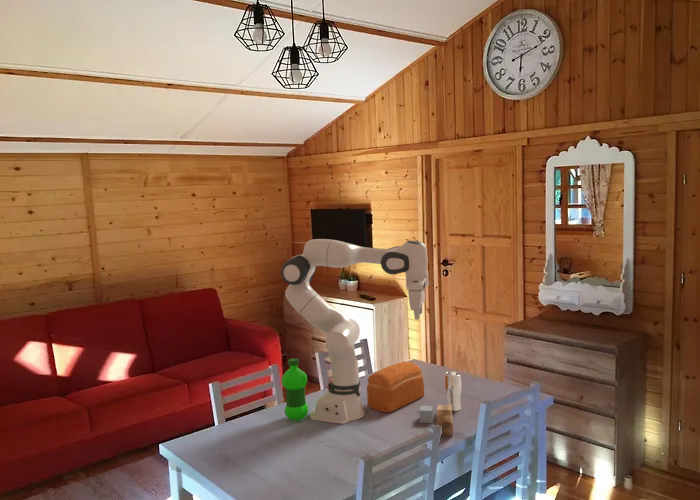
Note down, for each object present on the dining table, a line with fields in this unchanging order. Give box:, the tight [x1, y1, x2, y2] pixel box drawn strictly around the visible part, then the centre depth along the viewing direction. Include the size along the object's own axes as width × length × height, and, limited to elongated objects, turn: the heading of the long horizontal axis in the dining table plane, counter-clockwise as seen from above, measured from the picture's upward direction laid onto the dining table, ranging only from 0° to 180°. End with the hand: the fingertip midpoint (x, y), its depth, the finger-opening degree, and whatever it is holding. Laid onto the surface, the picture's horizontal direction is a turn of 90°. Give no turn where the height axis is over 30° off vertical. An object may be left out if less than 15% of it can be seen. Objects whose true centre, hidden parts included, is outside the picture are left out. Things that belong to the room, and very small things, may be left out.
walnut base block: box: [435, 416, 455, 437], centre depth 224 cm, size 6×6×5 cm
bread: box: [366, 361, 425, 413], centre depth 257 cm, size 14×26×16 cm, turn 136°
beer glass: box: [444, 370, 463, 412], centre depth 246 cm, size 7×7×15 cm
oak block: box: [436, 404, 453, 423], centre depth 223 cm, size 5×5×5 cm
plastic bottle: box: [281, 358, 309, 422], centre depth 243 cm, size 10×10×25 cm
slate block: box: [418, 405, 435, 424], centre depth 236 cm, size 5×5×5 cm
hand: (418, 316), depth 234 cm, fingers open, 8 cm apart
